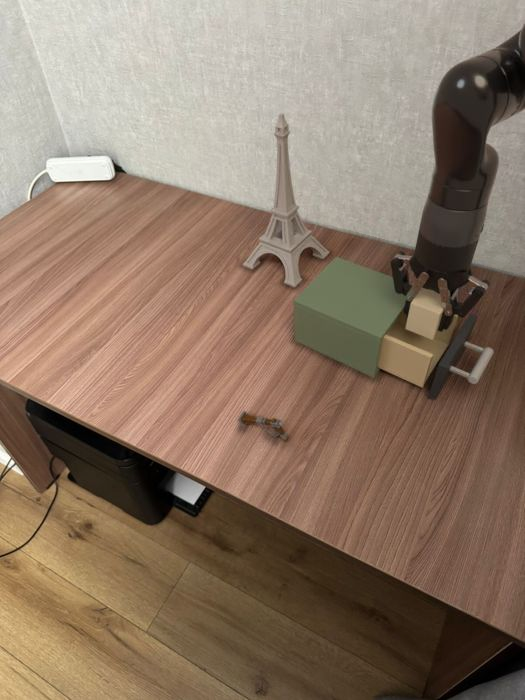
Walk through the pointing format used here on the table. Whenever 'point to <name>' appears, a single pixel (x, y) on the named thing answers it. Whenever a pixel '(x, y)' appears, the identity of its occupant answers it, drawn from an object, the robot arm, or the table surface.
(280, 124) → the eiffel tower
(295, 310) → the cabinet
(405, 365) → the drawer
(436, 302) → the block
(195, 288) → the table surface
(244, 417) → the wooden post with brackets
